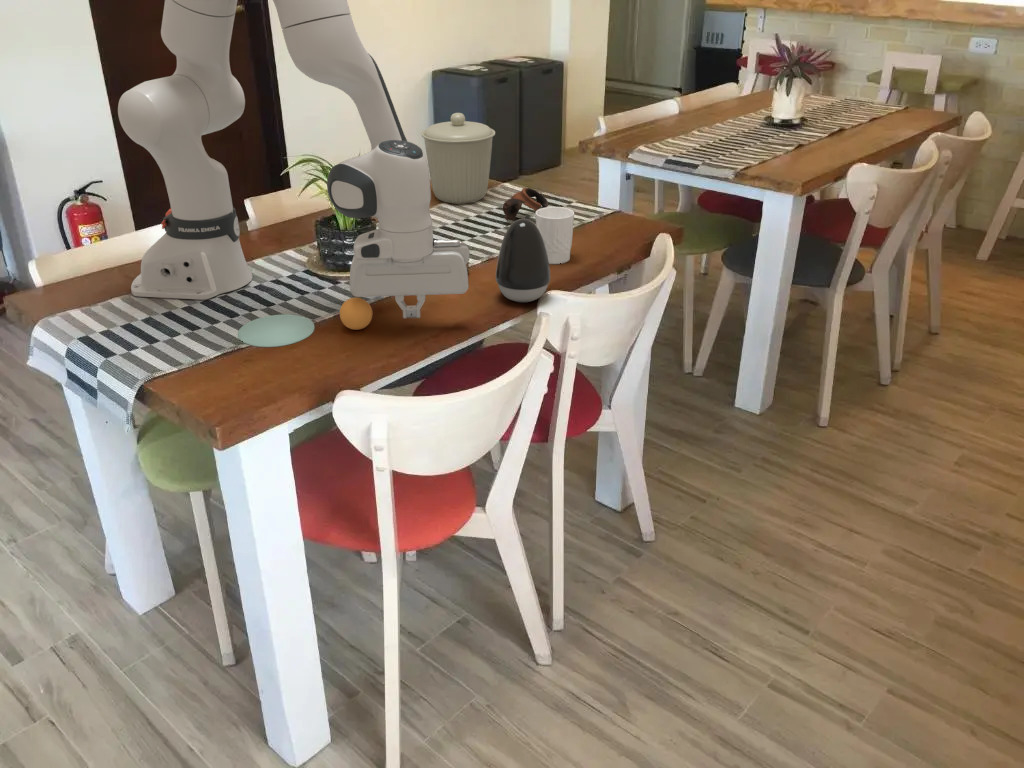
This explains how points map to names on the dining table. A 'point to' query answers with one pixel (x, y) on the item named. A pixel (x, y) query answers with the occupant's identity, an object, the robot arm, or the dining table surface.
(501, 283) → the dark grey egg shape
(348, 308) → the ball
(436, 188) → the canister
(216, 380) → the dining table surface
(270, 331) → the teal disc
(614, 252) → the dining table surface
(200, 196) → the robot arm
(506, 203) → the brown curved piece
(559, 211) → the white cup
